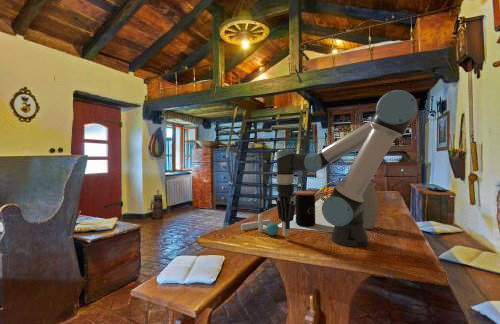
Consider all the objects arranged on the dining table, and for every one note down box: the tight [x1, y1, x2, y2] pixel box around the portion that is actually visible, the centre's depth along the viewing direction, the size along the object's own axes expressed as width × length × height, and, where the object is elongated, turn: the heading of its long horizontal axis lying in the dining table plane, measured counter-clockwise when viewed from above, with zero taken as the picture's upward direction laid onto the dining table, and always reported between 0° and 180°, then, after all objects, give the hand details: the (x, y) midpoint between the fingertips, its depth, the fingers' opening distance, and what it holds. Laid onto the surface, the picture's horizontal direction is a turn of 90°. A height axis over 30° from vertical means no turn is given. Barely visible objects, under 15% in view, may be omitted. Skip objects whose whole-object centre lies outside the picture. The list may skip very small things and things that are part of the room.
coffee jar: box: [295, 190, 316, 228], centre depth 144 cm, size 11×11×18 cm
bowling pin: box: [363, 180, 380, 230], centre depth 136 cm, size 11×12×38 cm
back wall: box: [240, 218, 272, 231], centre depth 140 cm, size 2×18×3 cm, turn 121°
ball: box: [266, 222, 280, 236], centre depth 125 cm, size 6×6×6 cm
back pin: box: [257, 213, 264, 233], centre depth 131 cm, size 2×2×9 cm
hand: (285, 235), depth 118 cm, fingers closed
